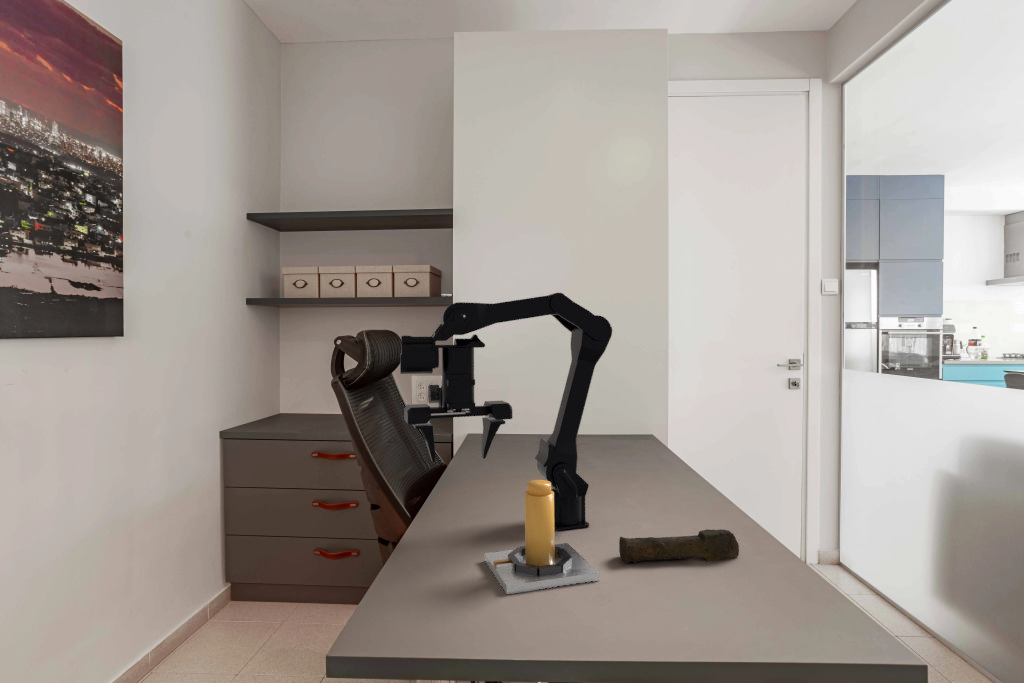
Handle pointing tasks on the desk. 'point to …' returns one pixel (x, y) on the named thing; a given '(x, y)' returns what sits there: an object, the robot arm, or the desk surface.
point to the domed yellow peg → (539, 523)
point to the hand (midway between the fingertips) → (458, 459)
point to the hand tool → (681, 547)
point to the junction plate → (540, 570)
